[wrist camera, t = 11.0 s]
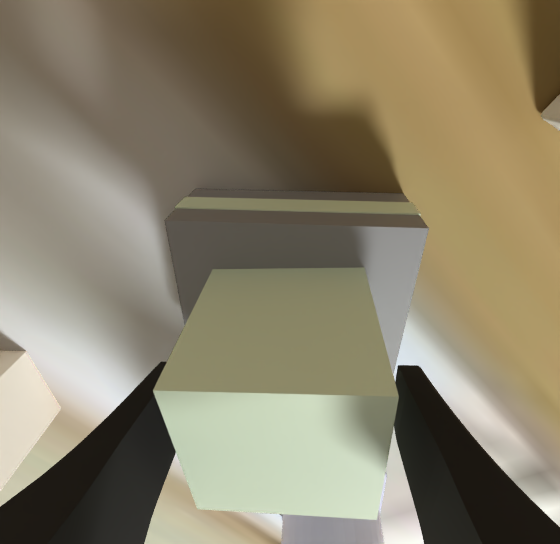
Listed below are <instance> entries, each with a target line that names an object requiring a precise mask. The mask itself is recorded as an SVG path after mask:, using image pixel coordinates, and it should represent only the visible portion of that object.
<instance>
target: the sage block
mask: <svg viewBox="0 0 560 544" xmlns="http://www.w3.org/2000/svg"><path fill="white" fill-rule="evenodd" d="M153 392H154V395H155V398H156V400H157V403H158V406H159V408H160V411H161V414H162V416H163V419H164V422H165V424H166V427H167V429H168V432H169V435H170V437H171V440H172V443H173V445H174V448H175V451H176V453H177V456H178V459H179V461H180V464H181V467H182V469H183V472H184V475H185V477H186V480H187V483H188V485H189V488H190V490H191V493H192V496H193V498H194V501H195V504H196V506H197V509H204V510H221V511H237V512H254V513H270V514H287V515H303V516H320V517H336V518H353V519H369V520H377V516H378V511H379V505H380V500H381V494H382V488H383V483H384V477H385V472H386V466H387V460H388V455H389V449H390V444H391V438H392V433H393V427H394V421H395V416H396V410H397V405H398V399H399V395H398V391H397V388H396V384H395V380H394V376H393V373H392V369H391V365H390V361H389V358H388V354H387V350H386V346H385V343H384V339H383V335H382V331H381V328H380V324H379V320H378V316H377V313H376V309H375V305H374V301H373V298H372V294H371V290H370V286H369V283H368V279H367V275H366V271H365V268H364V267H359V268H273V269H213V270H212V272H211V274H210V276H209V278H208V280H207V282H206V284H205V286H204V288H203V290H202V292H201V294H200V296H199V298H198V300H197V302H196V304H195V306H194V308H193V310H192V312H191V314H190V316H189V318H188V320H187V322H186V324H185V326H184V328H183V330H182V332H181V334H180V337H179V339H178V341H177V343H176V345H175V347H174V349H173V351H172V353H171V355H170V357H169V359H168V361H167V363H166V365H165V367H164V369H163V371H162V373H161V375H160V377H159V379H158V381H157V383H156V385H155V387H154V389H153Z"/></svg>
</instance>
